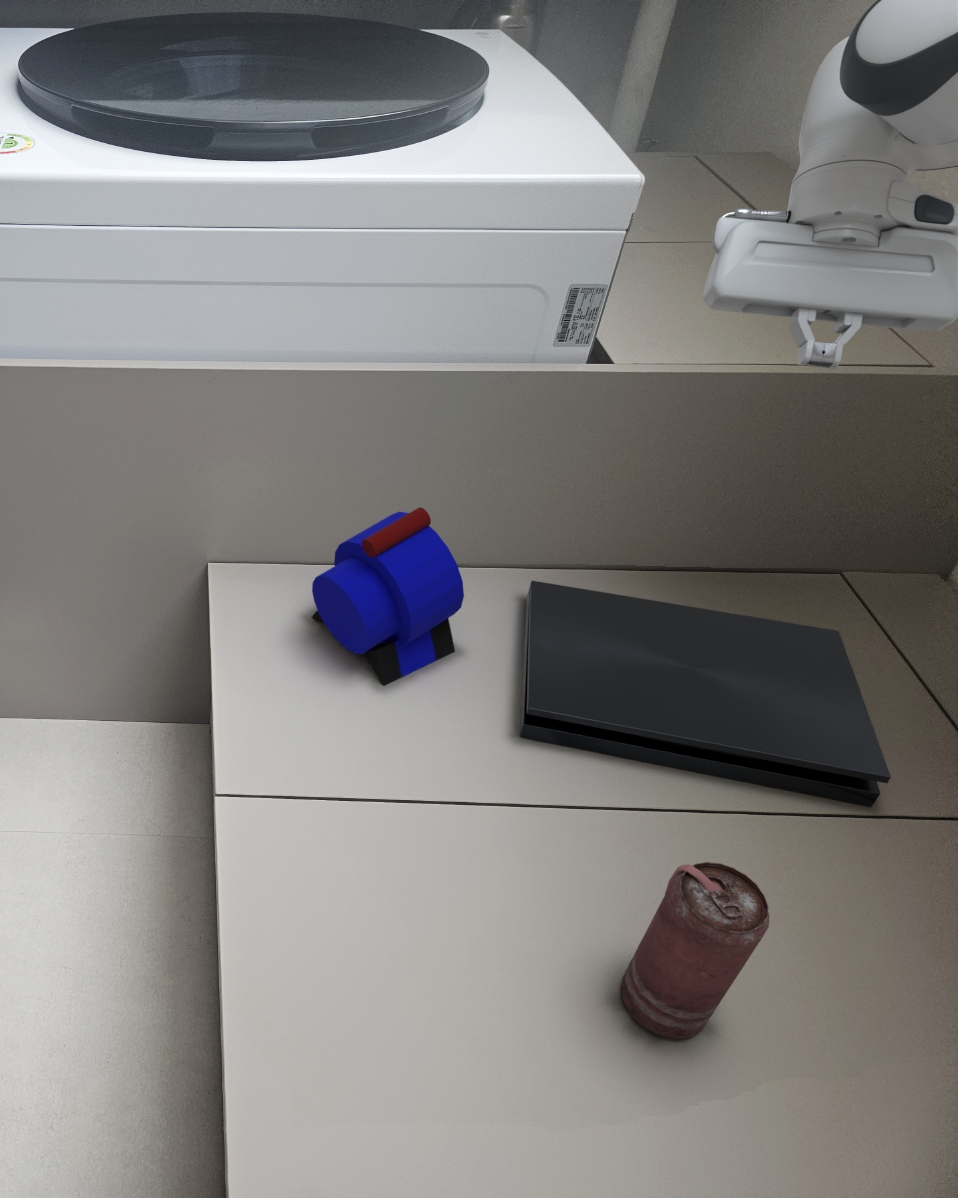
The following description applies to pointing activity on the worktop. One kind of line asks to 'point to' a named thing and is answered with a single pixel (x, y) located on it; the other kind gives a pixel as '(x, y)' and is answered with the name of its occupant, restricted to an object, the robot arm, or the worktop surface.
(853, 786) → the laptop
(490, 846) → the worktop surface
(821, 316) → the robot arm
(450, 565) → the alarm clock
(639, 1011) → the can
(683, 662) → the laptop screen
